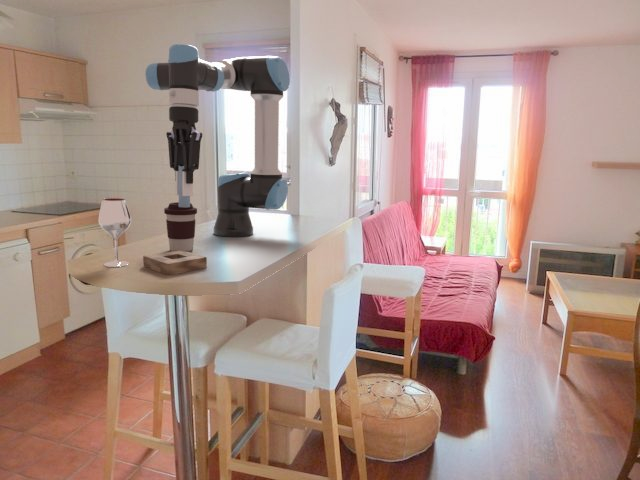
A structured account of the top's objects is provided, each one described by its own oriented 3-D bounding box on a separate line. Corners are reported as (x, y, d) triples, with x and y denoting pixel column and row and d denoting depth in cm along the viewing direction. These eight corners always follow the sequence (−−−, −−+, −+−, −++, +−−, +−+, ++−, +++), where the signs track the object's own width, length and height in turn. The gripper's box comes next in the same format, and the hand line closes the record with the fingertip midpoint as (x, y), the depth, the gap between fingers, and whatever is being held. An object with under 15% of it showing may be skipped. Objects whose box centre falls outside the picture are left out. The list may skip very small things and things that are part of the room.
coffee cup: (188, 254, 149) (187, 206, 146) (159, 251, 150) (158, 204, 148) (202, 248, 158) (202, 202, 155) (174, 246, 160) (173, 201, 157)
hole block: (181, 260, 141) (181, 250, 140) (206, 267, 133) (206, 257, 132) (143, 266, 132) (143, 256, 131) (168, 275, 124) (167, 263, 123)
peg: (185, 206, 135) (185, 166, 133) (192, 207, 133) (192, 166, 131) (176, 206, 132) (176, 166, 131) (182, 207, 131) (182, 166, 129)
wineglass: (106, 260, 137) (103, 197, 133) (136, 261, 137) (134, 198, 134) (96, 267, 129) (92, 200, 125) (127, 268, 129) (125, 201, 126)
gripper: (155, 106, 130) (156, 193, 134) (189, 104, 120) (189, 198, 124) (179, 109, 136) (179, 192, 140) (213, 107, 126) (212, 197, 130)
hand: (184, 195), depth 132 cm, fingers closed on peg, 2 cm apart
